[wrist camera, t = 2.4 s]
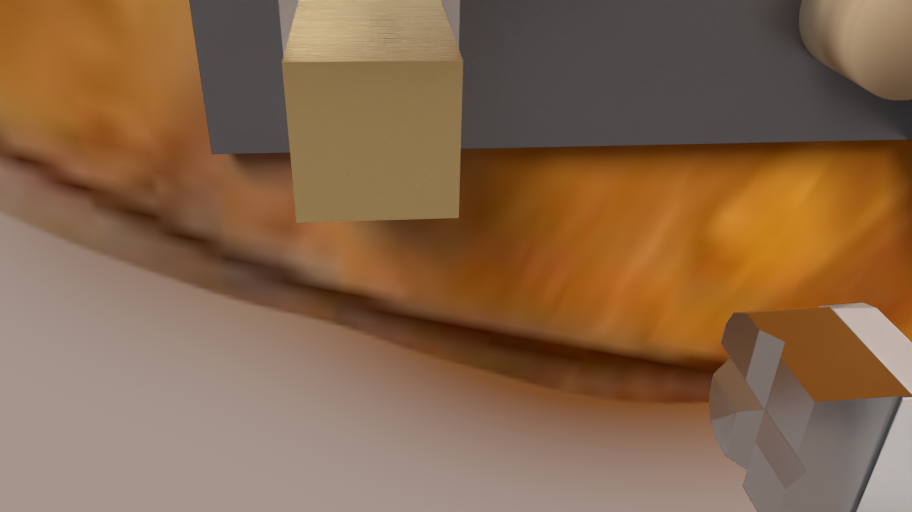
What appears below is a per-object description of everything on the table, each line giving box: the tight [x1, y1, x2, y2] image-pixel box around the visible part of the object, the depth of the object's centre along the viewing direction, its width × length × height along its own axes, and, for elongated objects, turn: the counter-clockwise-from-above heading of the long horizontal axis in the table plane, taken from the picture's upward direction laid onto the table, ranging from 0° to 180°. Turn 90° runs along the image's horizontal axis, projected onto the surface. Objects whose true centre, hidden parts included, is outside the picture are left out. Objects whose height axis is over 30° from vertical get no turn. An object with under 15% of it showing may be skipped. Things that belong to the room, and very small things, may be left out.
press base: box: [189, 0, 912, 154], centre depth 21 cm, size 26×9×8 cm, turn 89°
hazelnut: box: [799, 0, 912, 100], centre depth 23 cm, size 4×4×3 cm
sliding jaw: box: [278, 0, 463, 223], centre depth 18 cm, size 4×8×10 cm, turn 179°
